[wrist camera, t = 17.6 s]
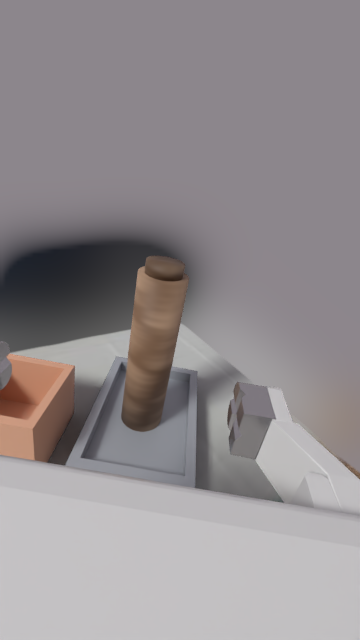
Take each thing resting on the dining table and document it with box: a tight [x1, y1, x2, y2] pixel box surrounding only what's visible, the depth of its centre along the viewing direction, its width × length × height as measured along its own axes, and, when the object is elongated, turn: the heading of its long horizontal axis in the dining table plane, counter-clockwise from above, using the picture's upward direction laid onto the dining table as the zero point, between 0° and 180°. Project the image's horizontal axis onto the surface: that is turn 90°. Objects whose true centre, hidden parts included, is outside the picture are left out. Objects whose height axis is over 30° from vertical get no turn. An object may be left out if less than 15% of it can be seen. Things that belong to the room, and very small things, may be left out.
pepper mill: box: [121, 256, 189, 432], centre depth 31 cm, size 5×5×19 cm
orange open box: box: [0, 354, 75, 462], centre depth 30 cm, size 9×9×7 cm
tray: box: [65, 356, 197, 488], centre depth 35 cm, size 12×18×2 cm, turn 176°
